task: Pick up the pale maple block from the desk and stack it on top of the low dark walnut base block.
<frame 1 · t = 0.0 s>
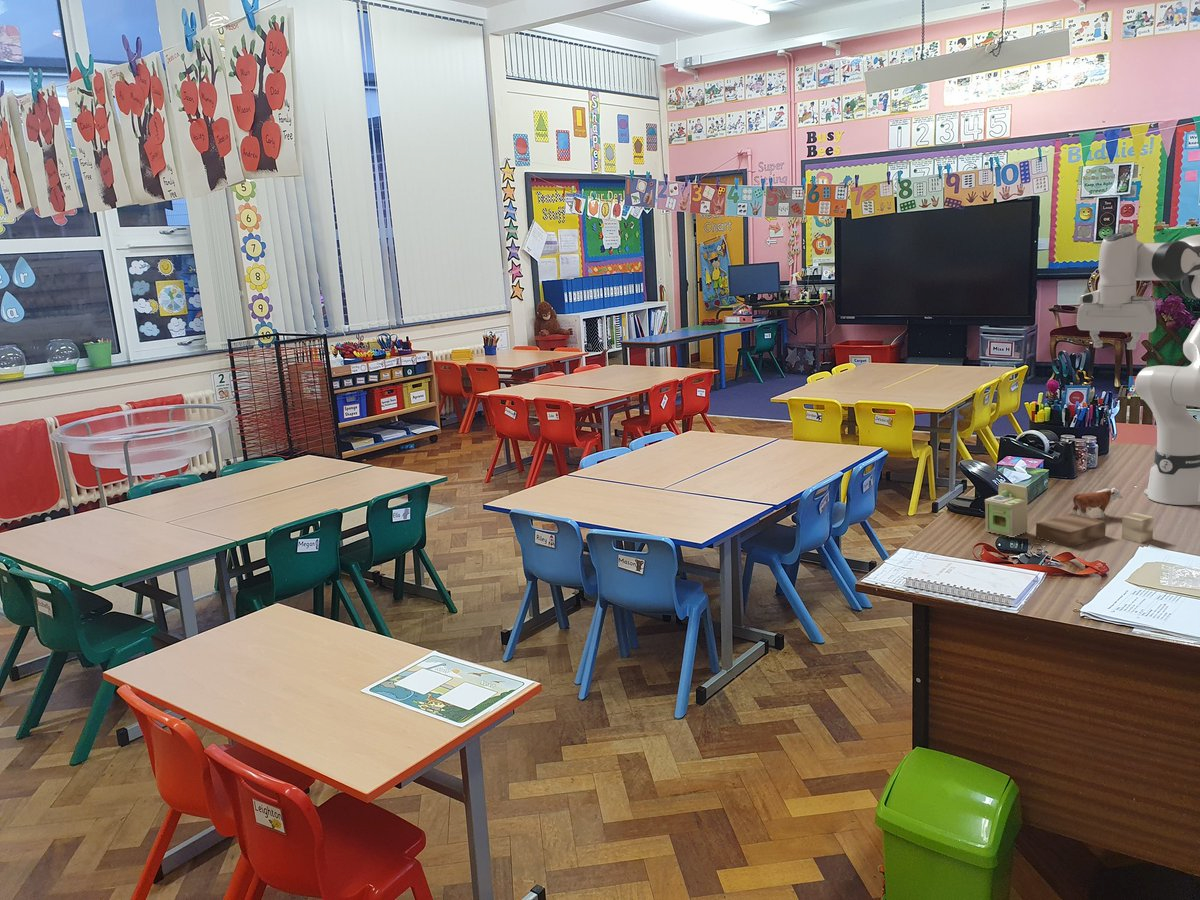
hand: (1114, 348, 238), 48 cm above the table, tool pointing down, fingers open, 8 cm apart
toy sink: (1005, 533, 246), on the table
maple block: (1136, 538, 233), on the table
base block: (1070, 536, 238), on the table
bull figurine: (1095, 517, 252), on the table
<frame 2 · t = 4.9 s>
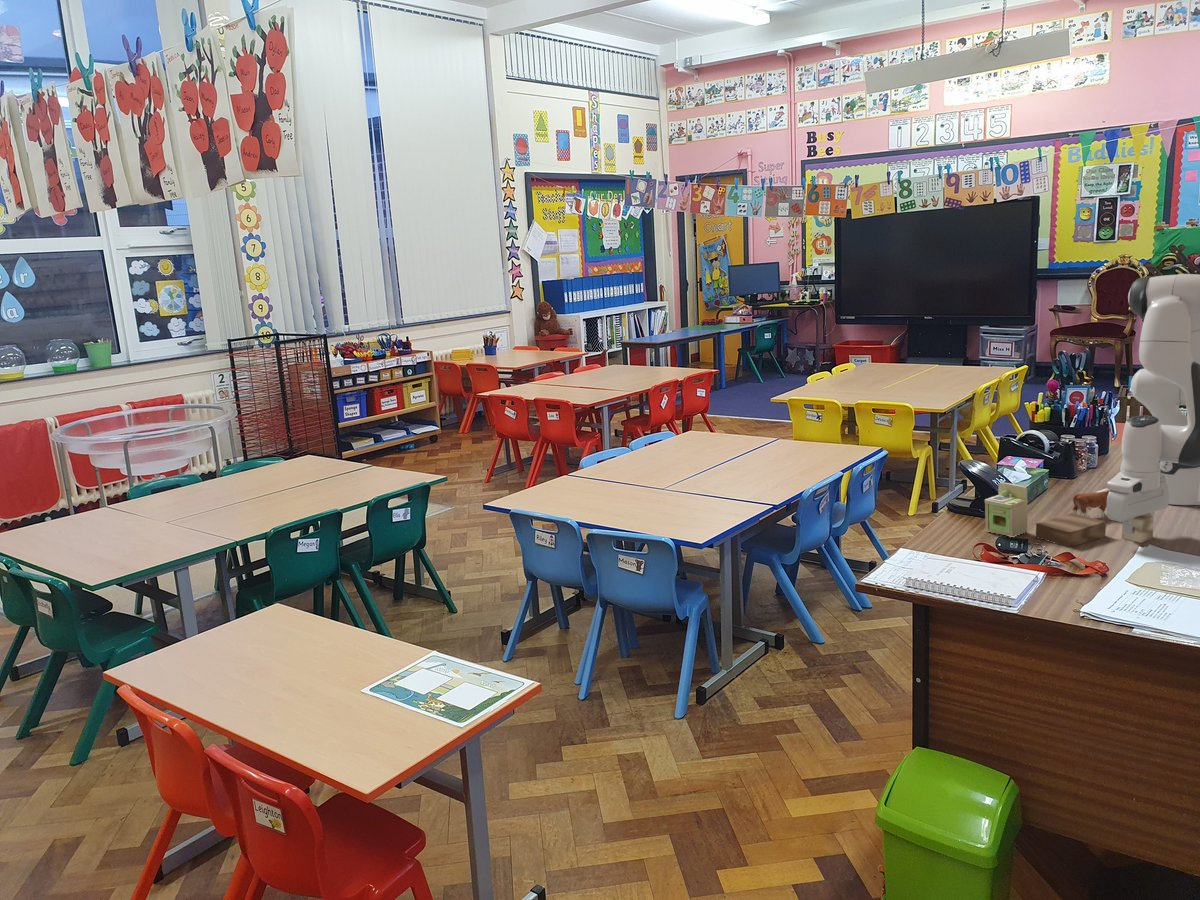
hand: (1137, 530, 232), 2 cm above the table, tool pointing down, fingers closed on maple block, 5 cm apart
maple block: (1137, 538, 233), on the table, touching gripper
everything else where it was.
when the fingers open (7 cm above the table, at t = 10.7 s): maple block stays where it is, resting on base block.
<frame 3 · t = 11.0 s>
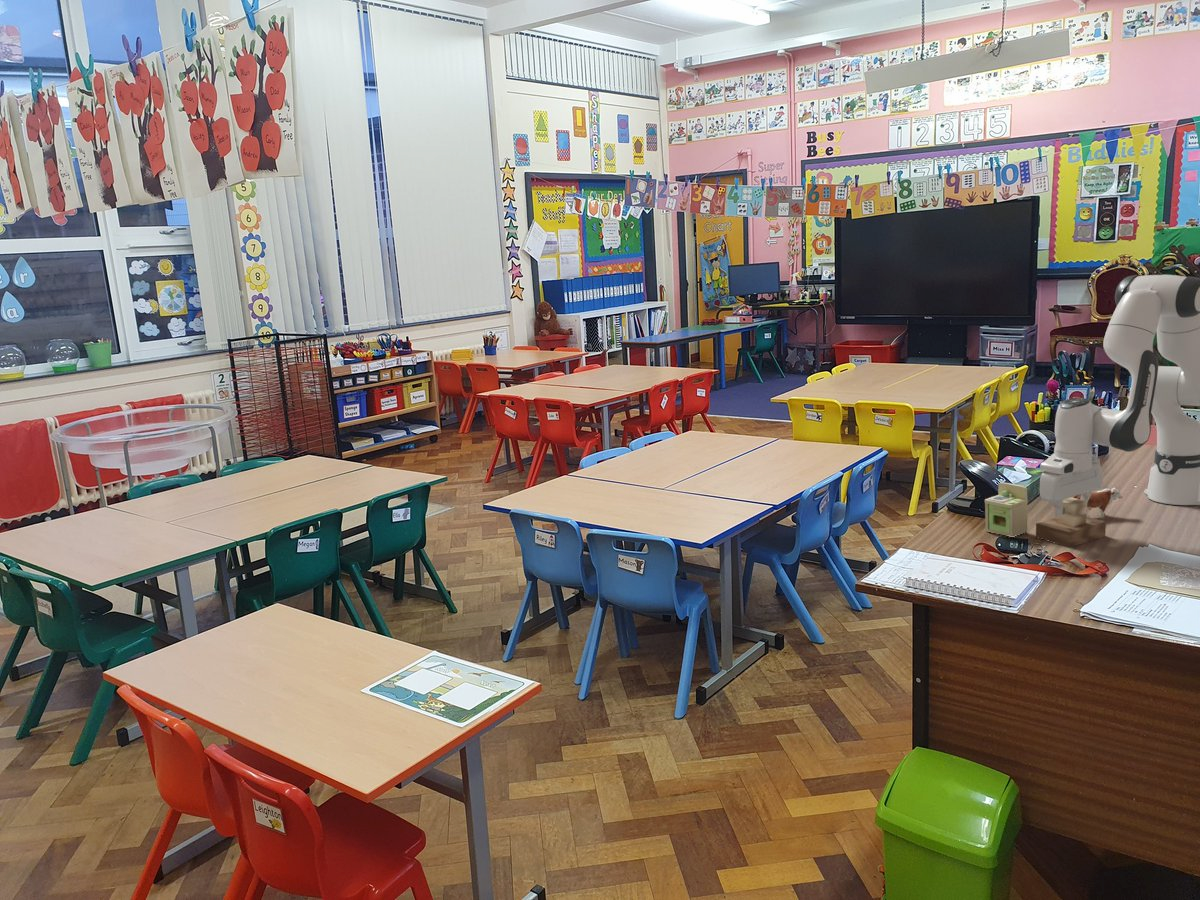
hand: (1071, 511, 236), 7 cm above the table, tool pointing down, fingers open, 7 cm apart
maple block: (1071, 522, 237), point 4 cm above the table, touching base block
everything else where it was.
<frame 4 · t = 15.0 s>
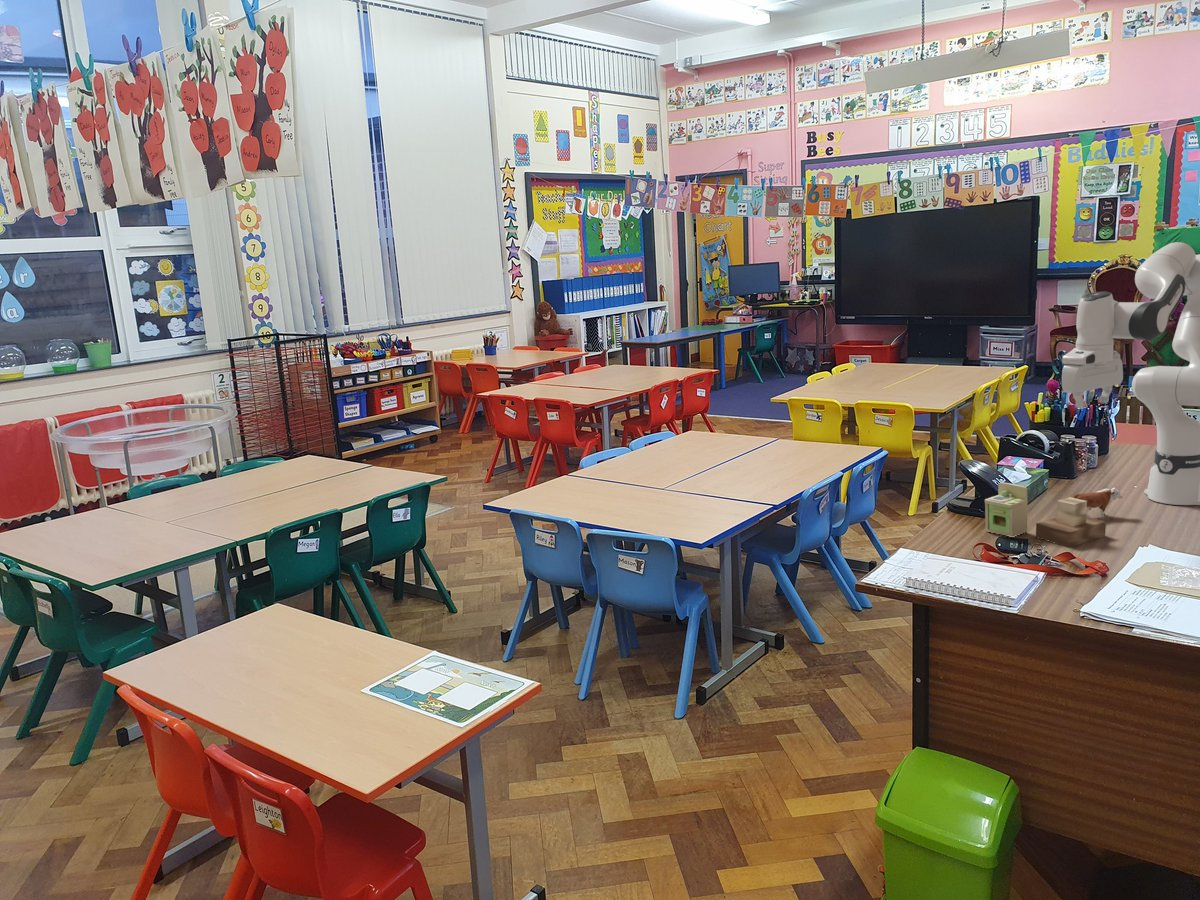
hand: (1092, 405, 241), 33 cm above the table, tool pointing down, fingers open, 8 cm apart
nothing on the table moved.
at the end: maple block inside the target area on the base block (0.1 cm from its centre), point 4.0 cm above the base block's base; maple block tilted 0°; the gripper is holding nothing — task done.
